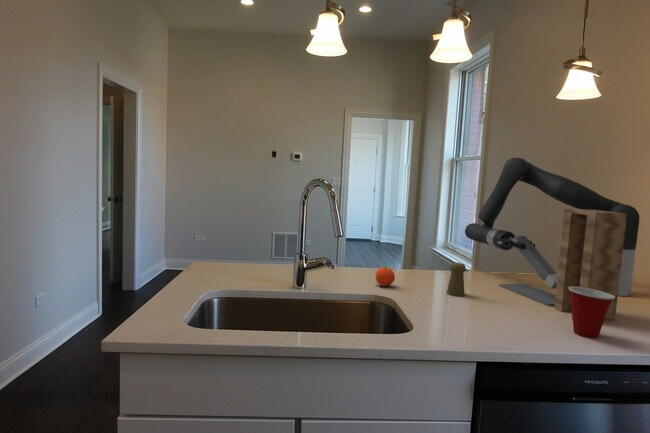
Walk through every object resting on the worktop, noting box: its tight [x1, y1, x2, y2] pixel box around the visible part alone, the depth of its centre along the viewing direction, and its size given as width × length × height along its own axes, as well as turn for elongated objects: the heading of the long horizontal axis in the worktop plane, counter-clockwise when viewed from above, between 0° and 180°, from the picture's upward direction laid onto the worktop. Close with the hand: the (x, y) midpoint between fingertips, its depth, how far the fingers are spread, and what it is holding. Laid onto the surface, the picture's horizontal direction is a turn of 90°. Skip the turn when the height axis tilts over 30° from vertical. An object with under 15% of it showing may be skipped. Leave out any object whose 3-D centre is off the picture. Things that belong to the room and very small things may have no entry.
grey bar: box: [515, 235, 558, 290], centre depth 158 cm, size 4×24×4 cm
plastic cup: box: [569, 286, 615, 339], centre depth 118 cm, size 11×11×12 cm
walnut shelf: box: [553, 208, 627, 321], centre depth 136 cm, size 11×12×32 cm
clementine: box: [375, 266, 397, 287], centre depth 161 cm, size 8×7×7 cm
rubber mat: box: [499, 283, 556, 307], centre depth 158 cm, size 11×26×1 cm, turn 14°
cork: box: [446, 262, 467, 298], centre depth 154 cm, size 6×6×11 cm
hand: (529, 246), depth 162 cm, fingers closed on grey bar, 3 cm apart
